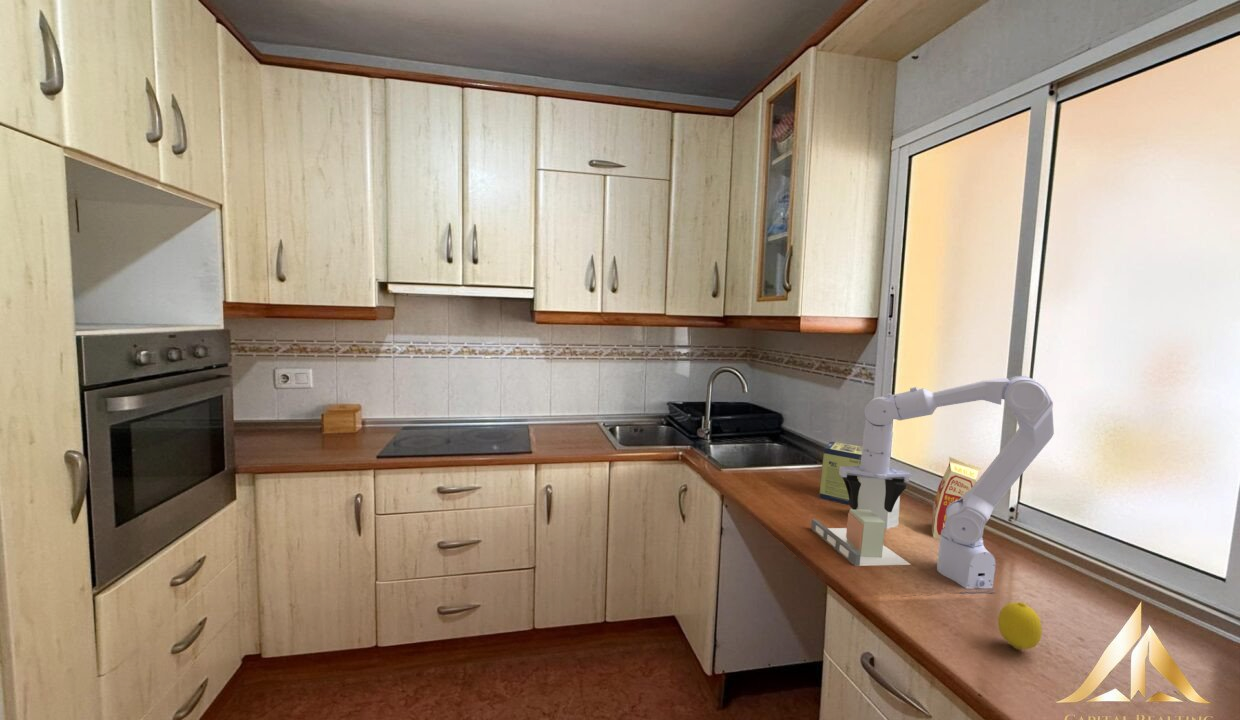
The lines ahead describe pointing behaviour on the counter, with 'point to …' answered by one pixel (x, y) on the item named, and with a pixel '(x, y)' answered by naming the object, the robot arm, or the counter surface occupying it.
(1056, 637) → the counter surface
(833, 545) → the shelf board
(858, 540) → the box
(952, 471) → the milk carton
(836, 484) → the protein box
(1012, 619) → the lemon
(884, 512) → the skincare box
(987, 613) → the counter surface
